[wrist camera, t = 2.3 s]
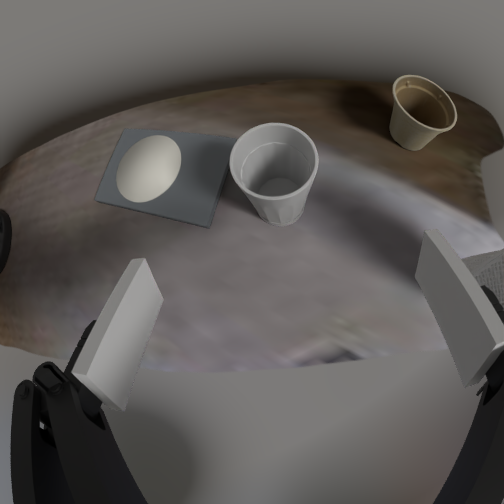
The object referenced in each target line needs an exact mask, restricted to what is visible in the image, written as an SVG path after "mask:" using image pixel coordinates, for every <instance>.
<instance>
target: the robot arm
mask: <svg viewBox="0 0 504 504" xmlns="http://www.w3.org/2000/svg"><path fill="white" fill-rule="evenodd" d="M10 244H11V222H10V218H9V216H8V214H7V213H5V212H3V211H0V273H1V271H2V270H3V268H4V266H5V263H6V261H7V258H8V254H9V250H10ZM415 279H416V281H417V282H418V284H419V286H420V288H421V290H422V292H423V294H424V296H425V298H426V300H427V302H428V304H429V306H430V308H431V310H432V312H433V314H434V316H435V318H436V320H437V323H438V325H439V327H440V329H441V331H442V334H443V336H444V338H445V340H446V343H447V345H448V347H449V350H450V352H451V354H452V357H453V359H454V362H455V365H456V367H457V370H458V372H459V375H460V378H461V380H462V383H463V386H464V388H466V387H468V386H471V385H474V384H476V383H479V381H480V380H481V379H482V378H483V377H484V375H485V374H486V377H487V379H488V380H487V382H486V383H485V384H484V385H483V386H482V387H481V389H480V390H479V391H478V392H477V394H476V395H477V396H478V395H479V394H480V393H481V392H482V391H483V392H482V396H481V399H480V402H479V405H478V408H477V411H476V414H475V417H474V420H473V422H472V425H471V428H470V430H469V433H468V435H467V438H466V440H465V443H464V445H463V447H462V449H461V452H460V454H459V456H458V458H457V460H456V462H455V465H454V467H453V469H452V471H451V472H450V474H449V477H448V478H447V480H446V482H445V484H444V486H443V487H442V490H441V491H440V493H439V494H438V496H437V498H436V499H435V501H434V503H433V504H501V503H502V500H503V498H504V308H503V307H502V305H501V304H499V300H498V299H497V297H496V296H495V294H494V293H493V292H492V291H491V290H490V289H489V288H487V287H486V286H485V285H483V286H479V284H478V283H477V281H476V280H475V278H474V277H473V275H472V274H471V272H470V271H469V270H468V268H467V267H466V265H465V264H464V263H463V261H462V260H461V259H460V257H459V256H458V255H457V253H456V252H455V251H454V249H453V248H452V247H451V246H450V244H449V243H448V242H447V240H446V239H445V238H444V237H443V236H442V234H441V233H440V232H439V231H438V229H436V230H425V231H424V235H423V240H422V245H421V250H420V255H419V260H418V264H417V269H416V273H415ZM163 300H164V299H163V297H162V295H161V293H160V291H159V289H158V286H157V284H156V282H155V280H154V278H153V275H152V273H151V271H150V269H149V266H148V264H147V262H146V259H145V258H139V259H132V260H131V261H130V263H129V265H128V266H127V268H126V270H125V271H124V273H123V275H122V276H121V278H120V280H119V281H118V283H117V285H116V287H115V288H114V290H113V292H112V294H111V295H110V297H109V299H108V301H107V303H106V304H105V306H104V308H103V310H102V312H101V313H100V315H99V317H98V319H97V320H93V321H92V322H91V323H90V324H89V326H88V327H87V328H86V329H85V331H84V333H83V335H82V337H81V340H79V342H78V344H77V347H76V348H75V350H74V352H73V354H72V356H71V359H70V361H69V363H68V365H67V367H66V369H65V371H64V373H63V372H62V371H61V370H60V369H59V368H58V367H57V366H56V365H55V364H54V363H53V362H45V363H42V364H41V365H40V366H38V368H37V369H36V370H35V372H34V375H33V382H32V381H30V380H24V381H22V382H21V383H20V384H19V385H18V386H17V388H16V390H15V395H14V402H13V413H12V425H11V481H12V493H13V502H14V504H148V503H147V501H146V500H145V498H144V497H143V495H142V493H141V491H140V489H139V488H138V486H137V484H136V482H135V480H134V478H133V476H132V475H131V473H130V471H129V469H128V467H127V465H126V463H125V461H124V459H123V457H122V454H121V452H120V450H119V448H118V445H117V443H116V441H115V439H114V436H113V434H112V431H111V429H110V427H109V424H108V422H107V419H106V417H105V414H104V412H103V410H102V409H101V408H100V407H101V404H102V402H103V403H104V404H105V405H106V406H107V407H108V408H109V409H113V410H118V411H123V412H124V411H125V408H126V405H127V401H128V398H129V395H130V392H131V389H132V386H133V383H134V380H135V377H136V374H137V371H138V368H139V365H140V362H141V359H142V357H143V354H144V351H145V348H146V345H147V343H148V340H149V337H150V334H151V332H152V329H153V326H154V324H155V321H156V318H157V316H158V313H159V310H160V308H161V305H162V303H163ZM34 383H35V384H34ZM36 385H37V386H36ZM40 422H42V423H43V424H44V429H42V428H40Z"/></svg>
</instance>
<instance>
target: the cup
mask: <svg viewBox="0 0 504 504" xmlns="http://www.w3.org/2000/svg"><path fill="white" fill-rule="evenodd" d="M229 162H230V171H231V174H232V177H233V179H234V180H235V182H236V183H237V185H238V186H239V187H240V188H241V190H242V191H243V192H244V194H245V195H246V196H247V197H248V199H249V200H250V202H251V203H252V204H253V206H254V207H255V209H256V210H257V212H258V214H259V216H260V217H261V218H262V219H263V220H264V221H265V222H266V223H268V224H270V225H273V226H287V225H290V224H292V223H294V222H296V221H297V220H298V219H299V218H300V217H301V215H302V213H303V211H304V208H305V202H306V199H307V196H308V193H309V190H310V188H311V186H312V183H313V180H314V178H315V175H316V172H317V169H318V162H319V160H318V153H317V149H316V147H315V145H314V143H313V141H312V140H311V139H310V138H309V137H308V136H307V135H306V134H305V133H304V132H303V131H301V130H300V129H298V128H296V127H294V126H291V125H288V124H283V123H267V124H262V125H259V126H256V127H254V128H252V129H250V130H248V131H247V132H246V133H244V134H243V135H242V136H241V137H240V138H239V139H238V140H237V142H236V143H235V145H234V147H233V149H232V151H231V154H230V161H229Z"/></svg>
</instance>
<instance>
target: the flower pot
mask: <svg viewBox="0 0 504 504" xmlns="http://www.w3.org/2000/svg"><path fill="white" fill-rule="evenodd" d="M393 96H394V106H393V112H392V117H391V121H390V126H389V129H390V133H391V136H392V137H393V139H394V140H395V141H396V142H398V143H399V144H400V145H401V146H402V147H403V148H405V149H408V150H412V151H416V150H420V149H422V148H423V147H424V146H425V145H426V144H427V143H428V142H430V141H431V140H432V139H433V138H434V137H435V136H437V135H438V134H439V133H442V132H444V131H448V130H450V129H451V128H452V127H453V126H454V125H455V123H456V120H457V113H456V109H455V106H454V104H453V102H452V100H451V99H450V97H449V96H448V95H447V93H446V92H445V91H444V90H443V89H442V88H440V87H439V86H438V85H437V84H435V83H434V82H432V81H430V80H428V79H426V78H424V77H420V76H416V75H405V76H402V77H399V78H398V79H397V80H396V81H395V82H394V85H393Z"/></svg>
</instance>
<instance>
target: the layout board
mask: <svg viewBox="0 0 504 504" xmlns="http://www.w3.org/2000/svg"><path fill="white" fill-rule="evenodd" d="M236 142H237V139H236V138H229V137H221V136H213V135H205V134H196V133H186V132H175V131H162V130H145V129H124V131H123V133H122V135H121V138H120V140H119V142H118V144H117V146H116V148H115V150H114V153H113V155H112V157H111V159H110V162H109V164H108V166H107V169H106V171H105V174H104V176H103V179H102V181H101V184H100V186H99V189H98V191H97V194H96V197H95V199H94V200H95V201H97V202H99V203H104V204H108V205H112V206H117V207H121V208H125V209H130V210H134V211H138V212H142V213H146V214H151V215H155V216H159V217H163V218H167V219H172V220H176V221H180V222H184V223H188V224H192V225H196V226H200V227H205V228H210V225H211V222H212V219H213V216H214V213H215V209H216V206H217V203H218V200H219V197H220V194H221V191H222V188H223V185H224V182H225V179H226V176H227V173H228V170H229V167H230V162H229V161H230V154H231V151H232V149H233V147H234V145H235V143H236Z"/></svg>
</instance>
